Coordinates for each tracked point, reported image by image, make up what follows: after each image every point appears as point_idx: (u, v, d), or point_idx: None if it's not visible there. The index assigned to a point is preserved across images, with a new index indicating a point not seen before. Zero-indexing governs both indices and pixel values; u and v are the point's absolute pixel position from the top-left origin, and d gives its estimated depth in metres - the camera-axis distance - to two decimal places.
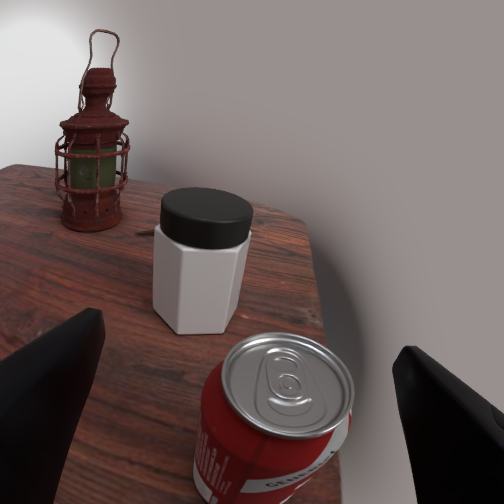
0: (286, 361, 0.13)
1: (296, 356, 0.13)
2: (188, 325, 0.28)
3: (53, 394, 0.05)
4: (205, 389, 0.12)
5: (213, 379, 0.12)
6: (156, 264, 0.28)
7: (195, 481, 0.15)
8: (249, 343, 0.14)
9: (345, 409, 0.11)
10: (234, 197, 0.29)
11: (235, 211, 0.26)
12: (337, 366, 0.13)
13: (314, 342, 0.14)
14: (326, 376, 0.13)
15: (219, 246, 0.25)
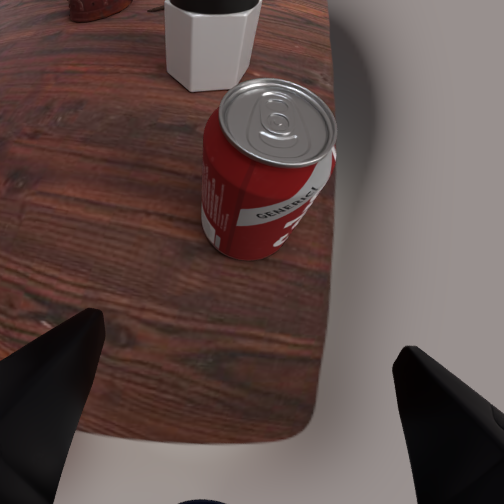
0: (279, 103, 0.14)
1: (289, 100, 0.14)
2: (201, 83, 0.27)
3: (53, 394, 0.05)
4: (206, 126, 0.14)
5: (214, 117, 0.14)
6: (168, 32, 0.23)
7: (202, 223, 0.22)
8: (246, 86, 0.14)
9: (326, 149, 0.13)
10: None
11: None
12: (325, 113, 0.14)
13: (306, 90, 0.14)
14: (314, 119, 0.14)
15: (228, 11, 0.19)
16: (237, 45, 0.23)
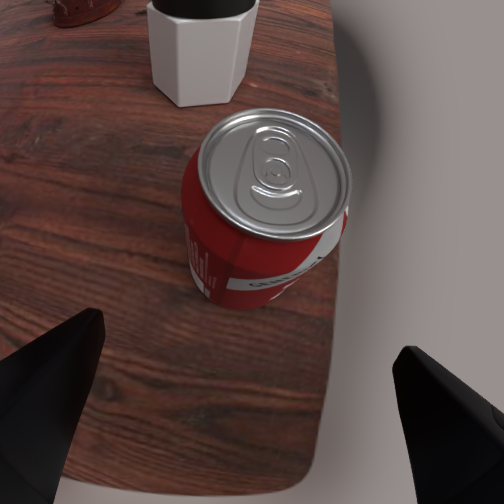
0: (278, 142, 0.11)
1: (290, 137, 0.12)
2: (190, 97, 0.24)
3: (53, 394, 0.05)
4: (185, 174, 0.12)
5: (194, 162, 0.11)
6: (152, 40, 0.20)
7: None
8: (235, 119, 0.11)
9: (338, 210, 0.10)
10: None
11: None
12: (337, 155, 0.11)
13: (313, 123, 0.11)
14: (322, 165, 0.11)
15: (219, 15, 0.17)
16: (230, 54, 0.21)
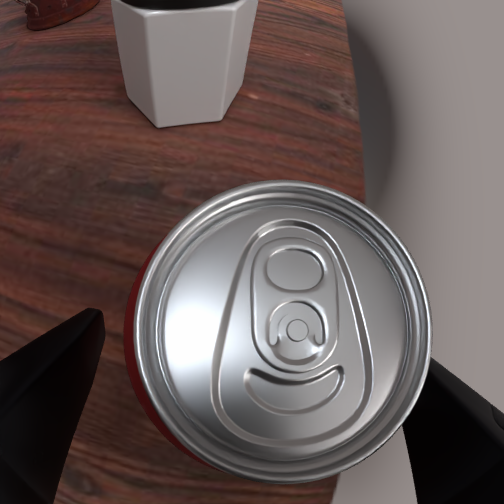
0: (302, 257, 0.06)
1: (325, 242, 0.06)
2: (170, 115, 0.19)
3: (53, 394, 0.05)
4: (127, 312, 0.06)
5: None
6: (120, 41, 0.15)
7: None
8: (215, 208, 0.06)
9: (404, 399, 0.05)
10: None
11: None
12: (408, 280, 0.06)
13: (369, 213, 0.06)
14: (382, 303, 0.06)
15: (204, 3, 0.11)
16: (221, 58, 0.15)
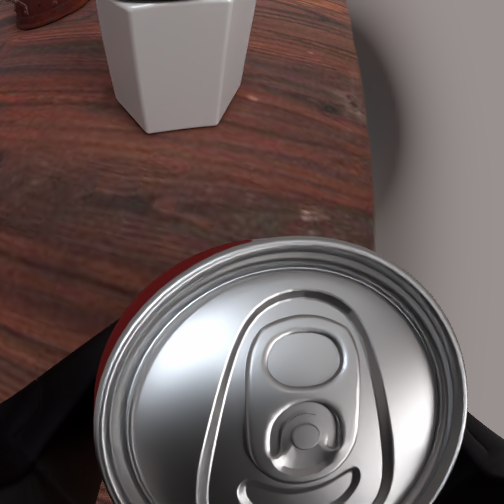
0: (315, 340, 0.04)
1: (346, 318, 0.04)
2: (161, 120, 0.17)
3: None
4: (95, 394, 0.04)
5: None
6: (105, 40, 0.13)
7: None
8: (197, 277, 0.04)
9: (425, 492, 0.03)
10: None
11: None
12: (445, 358, 0.04)
13: (406, 278, 0.04)
14: (412, 390, 0.04)
15: None
16: (217, 56, 0.13)
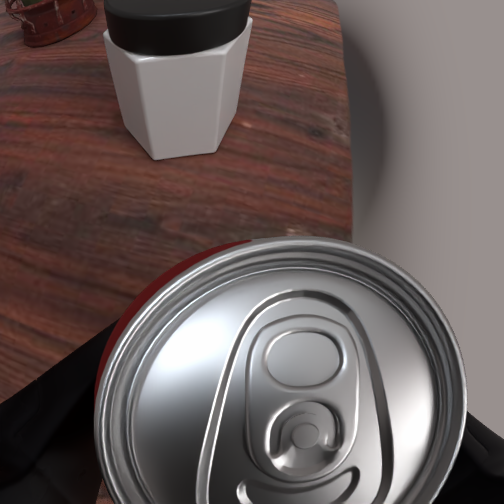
0: (315, 340, 0.04)
1: (346, 318, 0.04)
2: (166, 149, 0.20)
3: None
4: (95, 393, 0.04)
5: None
6: (114, 78, 0.16)
7: None
8: (197, 277, 0.04)
9: (424, 492, 0.03)
10: None
11: None
12: (445, 358, 0.04)
13: (406, 278, 0.04)
14: (412, 390, 0.04)
15: (194, 49, 0.13)
16: (213, 98, 0.17)
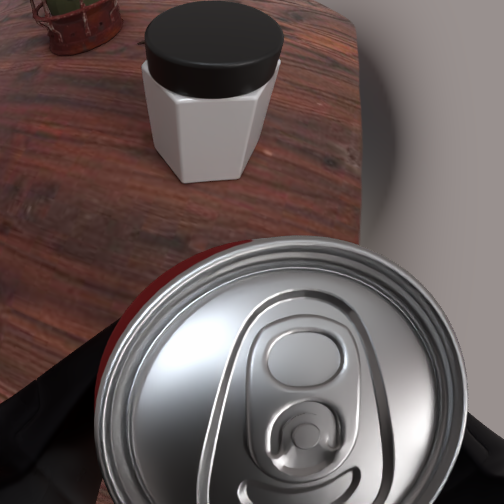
0: (315, 340, 0.04)
1: (347, 318, 0.04)
2: (195, 175, 0.23)
3: None
4: (95, 393, 0.04)
5: None
6: (150, 106, 0.19)
7: None
8: (197, 277, 0.04)
9: (425, 492, 0.03)
10: (257, 15, 0.15)
11: (256, 42, 0.14)
12: (446, 358, 0.04)
13: (407, 278, 0.04)
14: (413, 390, 0.04)
15: (229, 94, 0.15)
16: (242, 135, 0.19)
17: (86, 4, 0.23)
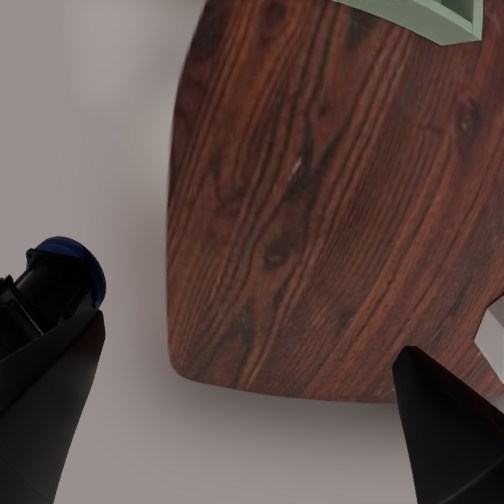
0: None
1: None
2: (488, 323, 0.24)
3: (53, 394, 0.05)
4: None
5: None
6: None
7: None
8: None
9: None
10: None
11: None
12: None
13: None
14: None
15: None
16: (499, 373, 0.22)
17: None
